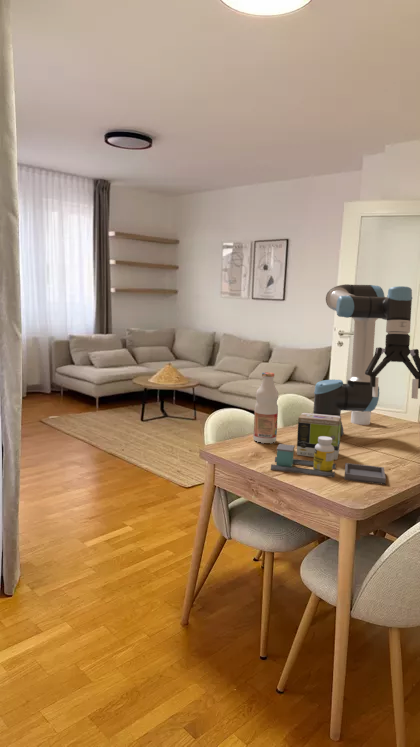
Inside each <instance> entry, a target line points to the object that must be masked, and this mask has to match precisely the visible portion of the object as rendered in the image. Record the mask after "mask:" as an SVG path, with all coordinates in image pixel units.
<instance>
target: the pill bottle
mask: <svg viewBox="0 0 420 747" xmlns="http://www.w3.org/2000/svg"><path fill="white" fill-rule="evenodd" d="M318 442H319V443H318V444H316V446H315V451H314V457H313V461H314V465H313V466H312V467H313V469H314V470H322V471H330V472H334V471H333V464H334V461H335V459H334V447H333V446H332V445H331V443H332V438H331V437H326V436H320V437H318Z"/></svg>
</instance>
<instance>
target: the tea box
mask: <svg viewBox="0 0 420 747" xmlns="http://www.w3.org/2000/svg"><path fill="white" fill-rule="evenodd" d="M297 419H298V420H297V435H296V438H297V440H296V455H297V456H304V457H312V458H314V451H315V446H316V444H318V443H319V442H318V437H320V436H326V437H331V438H332V443H331V445H332V446H333V447H334V461H335V460H338V456H339V454H340V446H341V444H340V443H341V436H340V431H341V422H342V415H340V416H335V415H324V414H313V412H312V413H311V412H302V413H301V414H300V415H299V416H298V418H297Z"/></svg>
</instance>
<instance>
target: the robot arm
mask: <svg viewBox="0 0 420 747" xmlns="http://www.w3.org/2000/svg"><path fill="white" fill-rule="evenodd" d="M412 302H413V290H412V288H411V287H409V286H391V287H389V288H388V291H387V296H385V292H384V290H383V287H381V286H379V285H376V284H375V285H373V284H340V285H336V286H333V287H332V288H331V289H330V290H329V291H328V292H327V293H326V295H325V303H326V305H327V307H328V308H330V309H331V310H332V311H335V312H336V315H337V317H340V318H349V319H350V318H352V320H353V321H354V324H353V340H352V359H351V374H350V376H349V377H348V378H347V382H346V383H344V382H343V380H342V379H325V380H319V381H318V382H316V384H315V386H314V392H313V394H314V399H313V400H314V401H313V412H312V413H313V414H324V415H335V416H341V415H342V411H347V412H348V411H350V412H352V411H362V412H364V411H371V412H372V411H374V410H375V409H376V407H377V405H378V402H379V399H380V386H379V378H380V377H377V376H378V375H379V374H380V373H381V372H382V370H383V369H385V367H386V366H387V365H388V364H389V363H390V362H392V363H394V362H395V363H402V364H404V365H405V366H406V368H407V369H408V371H410V373H411V375H412V376H413V378H412V379H411V381H412V382H411V399H415V400H417V399H418V397H419V396H418V395H419V389H420V352H419V349H417V348H412V349H410V340H411V336H410V333H411V320H412V305H413V304H412ZM380 319H382V320H385V321H386V325H385V326H386V327H385V328H386V329H385V332H386V333H387V334H385V347H384V348H383V347H376V348H375V334H376V322H377V320H380ZM374 350H375V351H374ZM374 352H375V353H374ZM383 354H385V356H384V357H383V359H382V361H381V362H380V363H379V364H378V365H377V363H378V362H379V360H380V358H381V356H382V355H383ZM409 355H410V356H411V357H412V360H413V362H414V363H412V361H411V359H410V358H409ZM343 435H344V426H343V422H342V421H341V431H340V437H342V436H343Z"/></svg>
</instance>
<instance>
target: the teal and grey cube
mask: <svg viewBox="0 0 420 747" xmlns="http://www.w3.org/2000/svg"><path fill="white" fill-rule="evenodd" d="M295 447H296V446H295V445H292V444H283V443H279V444H278V445H277V448H276V450H275V451H276V457H277V462H276V463H275V465H281V466H289V467H293V465H294V464H293V459H294V455H295V454H294V451H295V450H294V449H295Z"/></svg>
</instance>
